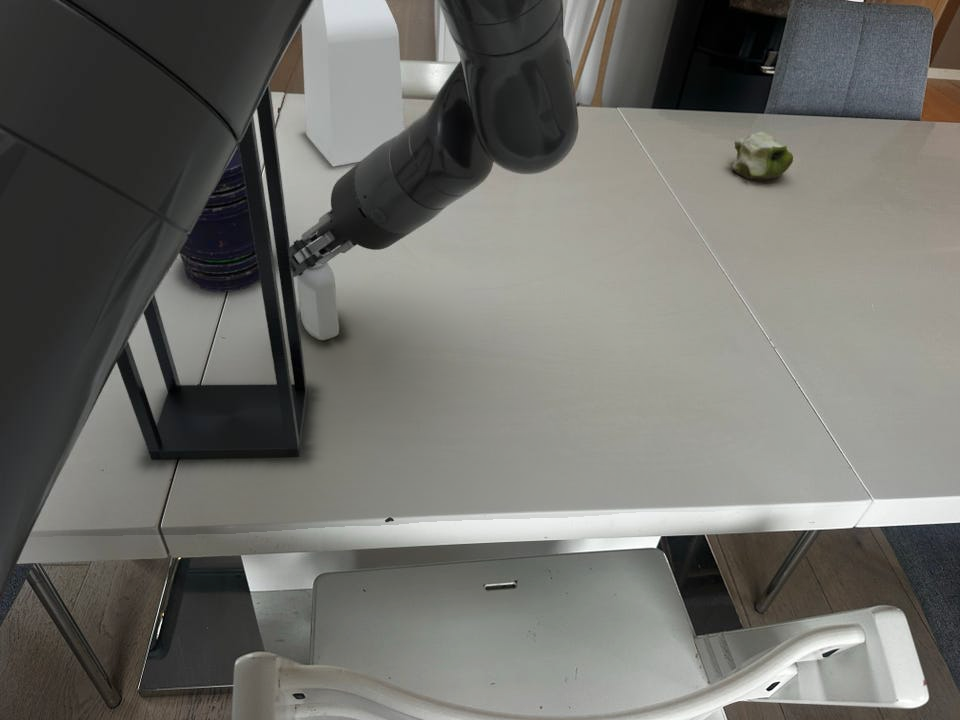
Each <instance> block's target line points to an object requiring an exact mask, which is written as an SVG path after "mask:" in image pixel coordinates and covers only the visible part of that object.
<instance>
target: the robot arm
mask: <svg viewBox="0 0 960 720" xmlns="http://www.w3.org/2000/svg"><path fill="white" fill-rule="evenodd" d="M313 2H314V0H0V602H1V601H2V599H3V596H4V594H5V591H6V589H7V587H8V584H9V582H10V580H11V577H12V575H13V573H14V570H15V568H16V566H17V564H18V562H19V559H20V557H21V555H22V553H23V551H24V548H25V546H26V544H27V542H28V540H29V537H30V535H31V533H32V531H33V529H34V527H35V525H36V523H37V521H38V520H39V519H38V518H39V516H40V514H41V512H42V511H43V508H44V507H45V505H46V502H47V500H48V498H49V496H50V494H51V492H52V490H53V488H54V486H55V484H56V482H57V481H58V478H59V477H60V474H61V472H62V471H63V468H64V467H65V464H66V463H67V461H68V459H69V457H70V455H71V453H72V451H73V449H74V447H75V445H76V444H77V442H78V439H79V437H80V435H81V433H82V431H83V429H84V427H85V425H86V423H87V421H88V420H89V417H90V415H91V413H92V412H93V410H94V407H95V406H96V404H97V402H98V399H99V397H100V396H101V393H102V392H103V389H104V387H105V386H106V384H107V382H108V380H109V377H110V376H111V374H112V372H113V370H114V368H115V366H116V365H117V360H118V359H119V357H120V355H121V353H122V351H123V349H124V347H125V345H126V343H127V342H129V340H130V338H131V336H132V334H133V332H134V331H135V330H136V329H135V328H137V325H138V324H139V322H140V320H141V318H142V316H144V311H145V310H146V308H147V306H148V304H149V303H150V301H151V299H152V298H153V296H154V294H155V295H156V293H157V291H158V289H159V288H160V286H161V284H162V283H163V281H164V279H165V278H166V276H167V274H168V272H169V271H170V269H171V268H172V266H173V265H174V263H175V261H176V260H177V258H178V256H179V255H180V251H181V249H182V248H183V246H184V244H185V243H186V241H187V239H188V238H189V237H188V234H191V232H192V230H193V228H194V227H195V225H196V223H197V221H198V219H199V217H200V216H201V214H202V212H203V210H204V208H205V206H206V205H207V203H208V201H209V199H210V197H211V195H212V194H213V192H214V190H215V188H216V186H217V184H218V183H219V181H220V179H221V177H222V175H223V173H224V172H225V170H226V168H227V166H228V164H229V162H230V161H231V159H232V157H233V155H234V153H235V151H236V150H237V145H238V144H239V143H240V142H241V140H242V138H243V136H244V134H245V132H246V130H247V128H248V126H249V124H250V121H251V119H252V117H254V115H255V113H256V112H257V107H258V105H259V103H260V100H261V98H262V96H263V94H264V92H265V90H266V88H267V86H268V84H269V82H270V83H271V81H272V78H273V76H274V75H275V72H276V70H277V69H278V67H279V64H280V62H281V60H282V59H283V57H284V56H285V53H286V51H287V50H288V48H289V46H290V44H291V42H292V40H293V39H294V37H295V35H296V33H297V31H298V30H299V28H300V26H302V21H303V19H304V18H305V16H306V14H307V12H308V11H309V9H310V7H311V5H312V4H313ZM437 2H438V4H439V8H440V9H441V12H442V15H443V18H444V21H445V24H446V27H447V29H448V32H449V34H450V37H451V39H452V41H453V43H454V45H455V47H456V50H457V53H458V56H459V59H460V60H459V61H458V63H457V64H456V65H455V67H454V69H453V70H452V72H451V73H450V75H449V76H448V77H447V79H446V81H444V83H443V85H442V86H441V88H440V89H439V90H438V92H437V94H436V96H435V97H434V99H433V101H432V103H431V105H430V106H429V108H428V109H427V111H425V113H423V114H421V115H420V116H419V117H418V118H416V119H415V120H414V121H413V122H412V123H411V124H409V125H407V127H405V128H404V130H403V131H402V132H401V133H399V134H398V135H397V136H395V137H394V138H392V139H390V140H388V141H386V142H384V143H383V144H381V145H380V146H379V147H377V148H376V149H375V150H374V151H372V152H371V153H370V154H369V155H368V156H366V157H365V158H364V159H363V160H361V161H360V162H357V163H356V164H355V165H354V166H353V167H351V168H350V170H348V171H347V172H346V173H344V174H343V175H342V176H341V177H340V178H338V180H336V182H335V183H334V185H333V188H332V190H331V194H330V207H331V209H330V210H329V211H327V212H326V213H324V214H323V215H322V216H320V217H319V218H318V222H316V223H315V224H314V225H312V226H311V227H309V229H307V230H306V231H304V232H303V233H302V234H301V238H300V239H296V240H295V241H293V244H291V245H290V253H291V261H292V269H293V278H297V277H296V276H298V275H299V276H300V275H302V274H303V271H305V270H306V269H308V270H309V269H311V268H312V267H313V266H315V265H316V264H315V263H317V262H319V263H320V264H324V263H326V262H327V263H328V262H329V261H331V260H332V259H333V258H335V257H337V256H338V255H339V254H345V253H347V252H348V251H350V250H351V249H353V248H355V246H359V247H362V248H364V249H367V250H371V251H372V250H374V251H376V250H377V251H380V250H384V249H387V248H389V247H391V246H392V245H394V244H395V243H398V242H399V241H401V240H402V239H404V238H405V237H406V236H408V235H410V234H411V233H413V232H415V231H416V230H418V229H419V228H421V227H423V226H424V225H425V224H427V223H429V222H430V221H432V220H433V219H434V218H436V217H437V216H438V215H439V214H440V213H441V212H442V211H444V209H445V208H447V207H448V206H450V205H451V204H453V203H454V202H456V201H458V200H459V199H461V198H462V197H464V196H465V195H467V194H469V193H470V192H472V191H473V190H475V189H476V188H477V187H479V186H480V185H481V184H482V183H484V182H485V181H486V179H487V178H488V177H489V175H490V173H491V172H492V170H493V166H494V164H495V165H497V166H498V167H500V168H502V169H504V170H506V171H508V172H511V173H514V174H518V175H537V174H541V173H544V172H547V171H549V170H551V169H553V168H555V167H556V166H557V165H559V164H560V163H561V162H563V161H564V159H565V158H566V157H567V156H568V155H569V154H570V153H571V151H572V150H573V147H574V145H575V143H576V140H577V139H578V138H577V137H578V134H579V128H580V127H579V126H580V125H579V114H578V107H577V98H576V92H575V83H574V77H573V76H574V75H573V70H572V69H573V68H572V60H571V55H570V50H569V49H570V48H569V45H568V43H567V40H566V37H565V36H564V34H565V33H564V0H437ZM276 263H277V265H278V261H276Z"/></svg>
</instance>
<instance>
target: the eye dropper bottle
mask: <svg viewBox="0 0 960 720" xmlns="http://www.w3.org/2000/svg"><path fill="white" fill-rule="evenodd" d="M315 264H316V265H315V266H313V267H312V268H311V269H309V270H308V269H306V270H305V271H303V274H302V275H300V276H299V275H298V276H296V277H295V278H296V284H297V291H298V292H297V293H298V301H299V310H300V316H301V317H300V318H301V322H302V325H303V327H304V330H306V331H307V333H308V335H310V336H312V337H313V338H315V339H316V340H319V341H326V340H329V339H332V338H335V337H337V336H339V334H340V326H339V314H338V301H337V299H338V298H337V290H336V289H337V287H336V279H335V275H334V272H333V269H332V267H331V266H330V264H329V263H328V261H327V262H326V263H324V264H320V263H319V262H317V263H315Z"/></svg>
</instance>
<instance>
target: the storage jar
mask: <svg viewBox="0 0 960 720" xmlns="http://www.w3.org/2000/svg"><path fill="white" fill-rule="evenodd" d="M188 237H189V238H188V239H187V241H186V243H185V244H184V246H183V248H182V249H181V251H180V253H179V257H180V259H181V261H182V264H183V266H184V273H185V276H186V279H187V280H188V281H189V283H191V284H192V285H193V286H195V287H197V288H199V289H201V290H205V291H209V292H219V293H220V292H221V293H222V292H223V293H224V292H233V291H238V290H242V289H245V288H250V287H251V286H253V285H256V284H257V283H258V282H260V276H259V270H258V263H257V257H256V251H255V245H254V238H253V232H252V226H251V220H250V213H249V207H248V201H247V195H246V188H245V182H244V176H243V169H242V163H241V157H240V151H239V144H238V145H237V150H236V151H235V153H234V155H233V157H232V159H231V161H230V162H229V164H228V166H227V168H226V170H225V172H224V173H223V175H222V177H221V179H220V181H219V183H218V184H217V186H216V188H215V190H214V192H213V194H212V195H211V197H210V199H209V201H208V203H207V205H206V206H205V208H204V210H203V212H202V214H201V216H200V217H199V219H198V221H197V223H196V225H195V227H194V228H193V230H192V232H191V234H188Z"/></svg>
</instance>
